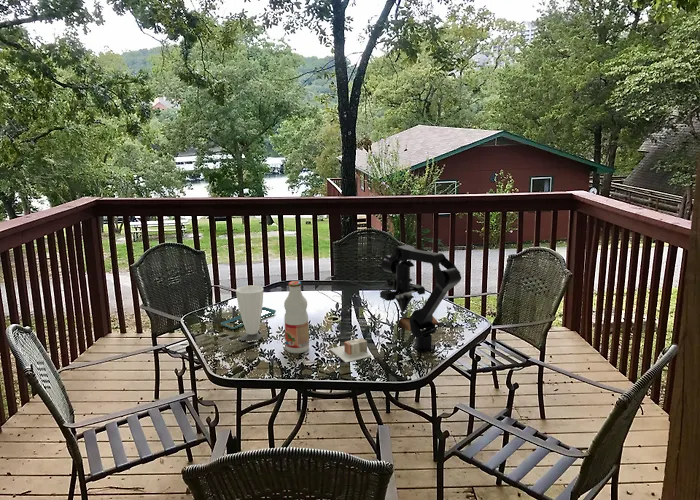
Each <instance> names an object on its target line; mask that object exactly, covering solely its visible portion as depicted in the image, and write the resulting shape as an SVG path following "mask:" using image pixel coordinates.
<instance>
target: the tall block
mask: <svg viewBox="0 0 700 500" xmlns="http://www.w3.org/2000/svg"><path fill="white" fill-rule="evenodd" d="M343 343H344V345H343V346H344V350H345V352H346V353H347V354H349V355H351V354H355V353H359V352H363V351H365V352H368V341H367V340H366V339H364V338H363V337H360V338H355V339H352V340H351V339H350V340H346V341H344V342H343Z"/></svg>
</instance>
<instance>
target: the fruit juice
mask: <svg viewBox="0 0 700 500" xmlns="http://www.w3.org/2000/svg"><path fill="white" fill-rule="evenodd" d="M301 287H302V282H301V281H299V280H292V281H289V282H288V288H289V292H288V296H286V298H285V299H284V303H283V307H284V309H285V313H284V337H285V339H284V340H285V350H286V351H287V352H288V353H291V354H301V353H305V352H307V351H308V350H309V348H310V335H309V334H310V332H309V330H310V329H309V327H310V326H309V314H308V312H307V308H308V300H307V299H306V297H305V296H304V295H303V292H302V289H301Z"/></svg>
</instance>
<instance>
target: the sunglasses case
mask: <svg viewBox="0 0 700 500" xmlns="http://www.w3.org/2000/svg"><path fill="white" fill-rule="evenodd" d="M410 319H411V318H410V316H408V317H402V318H400V319H399V320H398V322H397V324H398V326H399V327H401V329H402V328H403V329H404V330H407V331H408V332H410V331H411V327H410V322H409V321H410ZM432 322H433V324H434V326H436V325H440V324H441V322H439V321H438V320H437V319H436V318H435V317H434V316H433V320H432Z"/></svg>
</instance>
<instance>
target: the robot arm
mask: <svg viewBox="0 0 700 500" xmlns="http://www.w3.org/2000/svg"><path fill="white" fill-rule="evenodd" d="M412 261H415V262H416V261H417V262H420V263H426V264H431V266H432V269H433V270H432V271H433V275H434V276H435V277H436V279H435V286H434V289H433V290H432V292H431V293H430V295H429V297H428V298H427V299H426V301H425V303H424V304H423V306H422V307H421V308H418V309H414V310H413V311H412V314H411V315H410V316H409V317H410V318H411V319H410V321H409V322H410V327H411V334H412V336H414V337H415V344H414V345H412V348H413V349H415V350H417V351H418V352H419V353H426V352H430V351H433V350H435V349H436V348H435V347H434V346H432V343H433V342H432V341H433V339H432V334H435V333H436V331H437V327H436V325H434V324H433V322H432V320H433V317H434V316H433V314H434V313H435V311H436V310H437V309H438V307H439V305H441V302H442V301H443V299H444V298H445V296H446V294H448V291H450V290H452V288H453V289H454V287H455V286H457V285H458V284H459V283H460V282H461V280H462V276H461V272H460V271H459V269H458V268H457V267H456V265H455V263H453V261H451V260H449V259H448V258H447V257H446V256H445V254H444V253H442V252H434V251H427V250H421V249H418V248H415V246H413V245H410V244H404V245H398V246H395V247H394V249H393V251H392V254H391V255H389V254H387V255H385V256H384V259H383V260H382V262H381V265H380V267H381V269H382V270H383V271H385V272H388V273H391V274H395V276H394V277H393V280H391V279H390V278H387V279H385V280H384V287H385V288H388V289H384V290H381V291H380V292H379V293H380V294H379V297H380V298H381V299H382V300H385V301H389V302H390V301H395V300H396V302H397V304H398V306H399V310H400V312H401V313H403V314H404V313H405V311H406V309H407V308H408V306H409V304H410V302H411V301H412V299H414V298H415V296H414V295H413V293H417V294H418V295H425V294H426V288H425V286H422V285H420V284H417V283H416V284H411V282H412V281H413V278H411V268H412V267H414V266H415V264H414V263H413V262H412ZM440 265H441V266H442V267H444V268H445V269H443V270H442V269H441V268H440ZM391 289H392V290H391ZM393 290H394V291H393Z"/></svg>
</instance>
